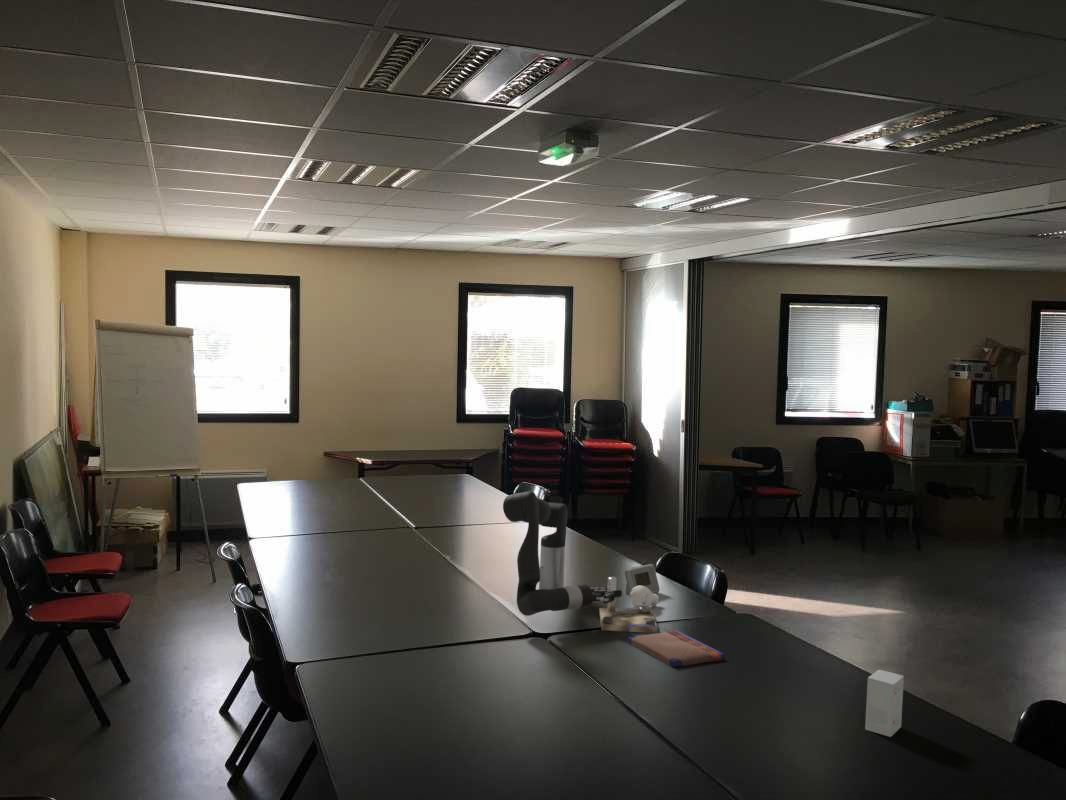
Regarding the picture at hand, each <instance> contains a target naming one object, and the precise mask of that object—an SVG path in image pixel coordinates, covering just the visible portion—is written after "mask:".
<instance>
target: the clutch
mask: <svg viewBox="0 0 1066 800" xmlns="http://www.w3.org/2000/svg"><path fill="white" fill-rule="evenodd" d="M633 626H654V625H646V624H635V625H630V626H628V627H627V631H626V632H627V633H628V634H629V635H632V636H629V637H628V638H627V643H628V645H631V646H633V647H635V648H636V649H639V650H640V651H643V652H644V653H646V654H648V655H650V656H651V657H653V658H655V659H657V660H659V661H660V662H662V663H664V664H665V665H667V666H669V667H671V668H681V667H682V668H683V667H687V666H693V665H699V664H705V663H711V662H720V661H725V659H726V656H725V655H726V654H724V653H723V652H721V651H720V650H717V649H715V648H713V647H711V646H709V645H707V644H705V643H703V642H701V641H699V640H697V639H695V638H693V637H690V635H688V634H685V633H684V632H681V631H679V630H677V629H674V630H672V629H671V630H669V629H666V628H663V627H660V626H658V625H657V626H654V627H657V629H658V628H659V629H662V630H664V632H657V633H648V634H646V633H645V634H633V633H632V632H631V633H630V632H629V629H630V628H631V627H633Z"/></svg>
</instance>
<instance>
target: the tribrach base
mask: <svg viewBox="0 0 1066 800" xmlns="http://www.w3.org/2000/svg"><path fill="white" fill-rule="evenodd" d="M606 610H607V607H599V612H598V614H599V621H600V630H601V631H607V632H608V631H610V632H611V631H613V632H627V627H628V626H630V625H635V624H646V625H654V626H658V625H657V622H656V621H657V620H656V618H655V617H654V616H655V615H654V613H653V610H652V609H651V612H650V613H640V612H639V613H630V614H621V615H611V614H609V612H607V611H606ZM654 626H633V627H631V628H630V629H629V633H630V632H631V633H632V632H633V633H649V634H656V633H658V627H654Z"/></svg>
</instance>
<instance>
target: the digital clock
mask: <svg viewBox="0 0 1066 800" xmlns="http://www.w3.org/2000/svg"><path fill="white" fill-rule="evenodd" d="M624 576H625V580H626V584H625V595H626V594H628V595H627V596H629V595H630V593H631V592H632V589H633V588H634V587H636V586H638V585H642V586H645V587H647V588H648V589H649V590H650V591H651V592H652V593H653V594H658V593H660V590H661V589H660V585H659V582H658V576H657V571H656V569H655V565H654V564H652V563H650V564H643V565H638V566H634V567H631V568H627V569H625V570H624ZM629 597H630V598H631V595H630V596H629Z"/></svg>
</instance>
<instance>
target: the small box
mask: <svg viewBox="0 0 1066 800" xmlns="http://www.w3.org/2000/svg"><path fill="white" fill-rule="evenodd" d="M904 678H905V677H904V675H903V674H898V673H894V672H891V671H886V670H882V669H877V670H876V671H874V672H873V673H872V674H871V675H869V676H868V677H867V683H866V684H867V685H866V686H867V687H866V703H865V705H866V707H865V725H864V729H865V731H868V732H872V733H876V734H880V735H883V736H886V737H887V738H888V737H889V738H891V737H892V736H893V735H895V734H896V733H897V732H898V731H899V730H900V729H901V728H902V718H903V717H902V715H903V713H902V712H903V699H904V698H903V697H904V680H905V679H904Z"/></svg>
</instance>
